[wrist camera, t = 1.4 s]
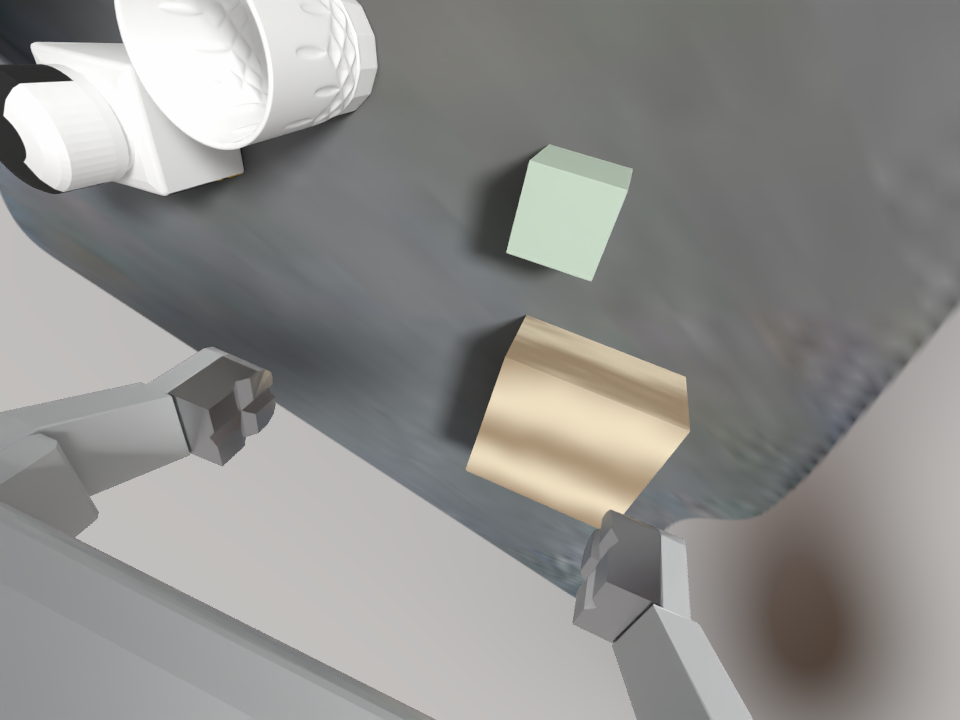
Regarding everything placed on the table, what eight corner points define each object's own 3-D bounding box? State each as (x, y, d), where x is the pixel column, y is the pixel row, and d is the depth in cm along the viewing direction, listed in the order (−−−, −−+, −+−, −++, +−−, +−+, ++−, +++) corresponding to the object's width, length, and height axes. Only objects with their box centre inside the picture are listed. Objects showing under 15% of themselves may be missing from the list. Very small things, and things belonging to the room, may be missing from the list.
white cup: (393, 128, 28) (290, 157, 20) (289, 120, 30) (158, 143, 22) (380, -38, 23) (240, -84, 16) (257, -35, 25) (79, -75, 18)
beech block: (527, 313, 32) (505, 356, 28) (685, 374, 31) (690, 431, 26) (488, 421, 40) (465, 470, 35) (614, 474, 38) (608, 532, 34)
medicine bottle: (170, 153, 35) (-11, 190, 25) (140, 42, 30) (-91, 38, 21) (247, 174, 33) (86, 221, 24) (227, 62, 29) (23, 66, 20)
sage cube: (549, 144, 26) (529, 160, 22) (633, 168, 25) (628, 190, 21) (527, 225, 29) (506, 252, 25) (601, 249, 28) (591, 281, 24)
